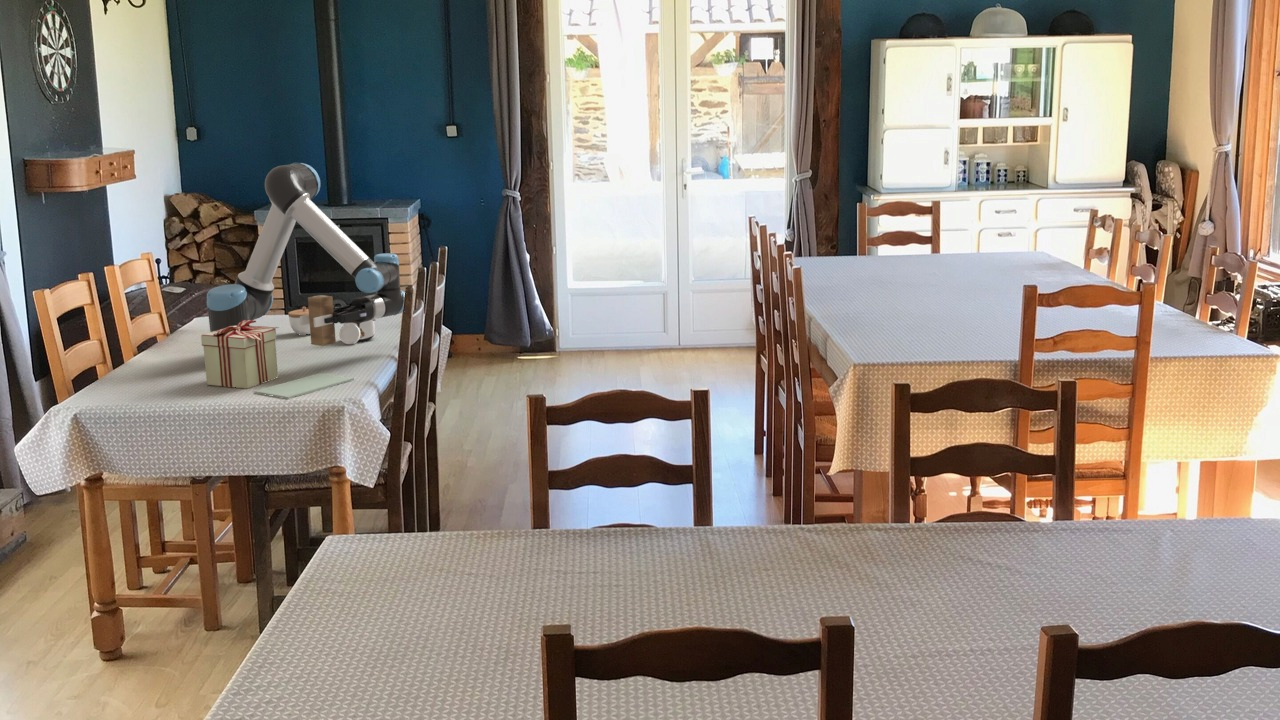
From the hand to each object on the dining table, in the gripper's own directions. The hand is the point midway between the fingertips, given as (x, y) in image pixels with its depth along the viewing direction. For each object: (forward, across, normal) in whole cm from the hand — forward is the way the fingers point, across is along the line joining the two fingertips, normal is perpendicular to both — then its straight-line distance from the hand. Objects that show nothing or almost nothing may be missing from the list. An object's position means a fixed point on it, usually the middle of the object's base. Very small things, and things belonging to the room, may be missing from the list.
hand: (307, 321), depth 357 cm
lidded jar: (-42, +50, -17) cm, 67 cm away
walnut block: (-5, 0, -8) cm, 9 cm away
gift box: (+14, +11, -16) cm, 24 cm away
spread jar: (-41, +24, -16) cm, 50 cm away
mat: (+11, -9, -16) cm, 21 cm away
